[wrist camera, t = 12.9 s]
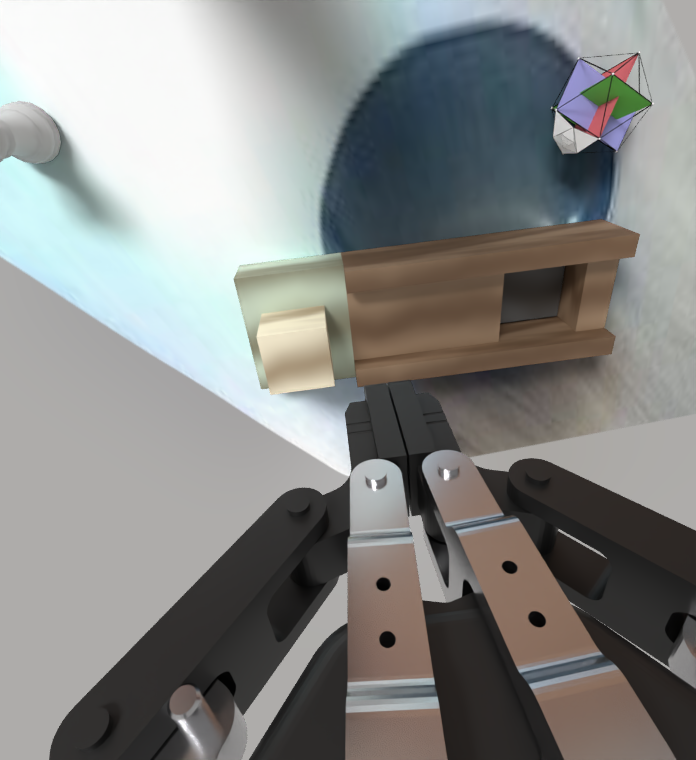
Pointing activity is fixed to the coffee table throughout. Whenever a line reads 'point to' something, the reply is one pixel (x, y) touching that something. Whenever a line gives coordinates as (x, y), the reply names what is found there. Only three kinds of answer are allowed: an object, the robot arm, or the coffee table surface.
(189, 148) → the coffee table surface
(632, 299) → the coffee table surface
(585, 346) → the channel deck
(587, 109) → the geometric puzzle
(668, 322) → the coffee table surface
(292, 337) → the birch block
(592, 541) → the robot arm
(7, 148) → the rook chess piece
